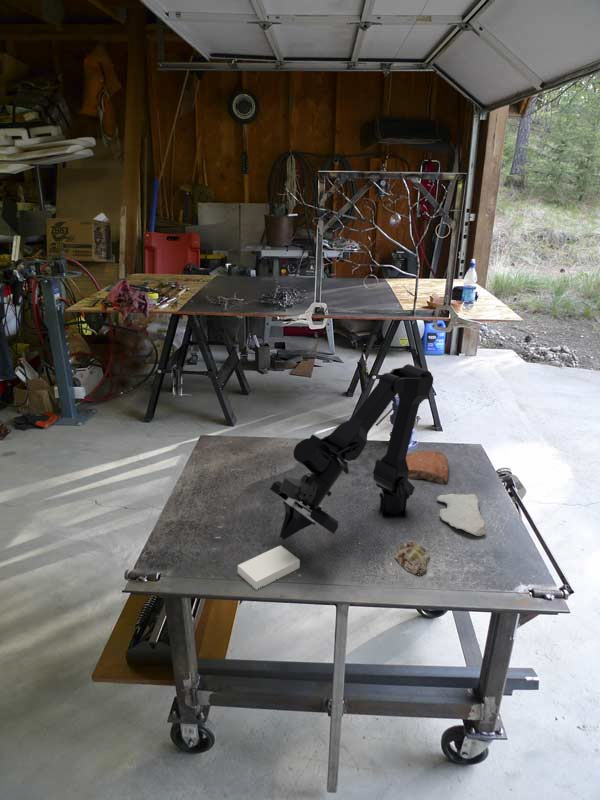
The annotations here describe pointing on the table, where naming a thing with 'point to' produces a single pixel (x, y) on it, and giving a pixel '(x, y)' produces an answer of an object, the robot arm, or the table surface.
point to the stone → (462, 513)
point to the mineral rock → (412, 557)
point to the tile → (268, 567)
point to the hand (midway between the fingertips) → (281, 538)
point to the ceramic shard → (428, 466)
